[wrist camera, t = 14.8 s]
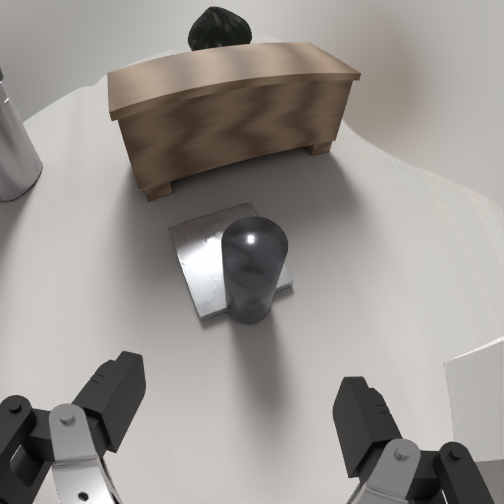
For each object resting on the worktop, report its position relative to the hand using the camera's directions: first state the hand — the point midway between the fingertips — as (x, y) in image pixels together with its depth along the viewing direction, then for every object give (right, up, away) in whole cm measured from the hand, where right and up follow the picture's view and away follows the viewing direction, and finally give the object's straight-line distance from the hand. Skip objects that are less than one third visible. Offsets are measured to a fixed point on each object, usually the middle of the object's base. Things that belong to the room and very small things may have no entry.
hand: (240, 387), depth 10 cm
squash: (-7, +51, +45) cm, 69 cm away
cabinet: (-2, +19, +26) cm, 33 cm away
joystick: (-2, +4, +17) cm, 18 cm away
